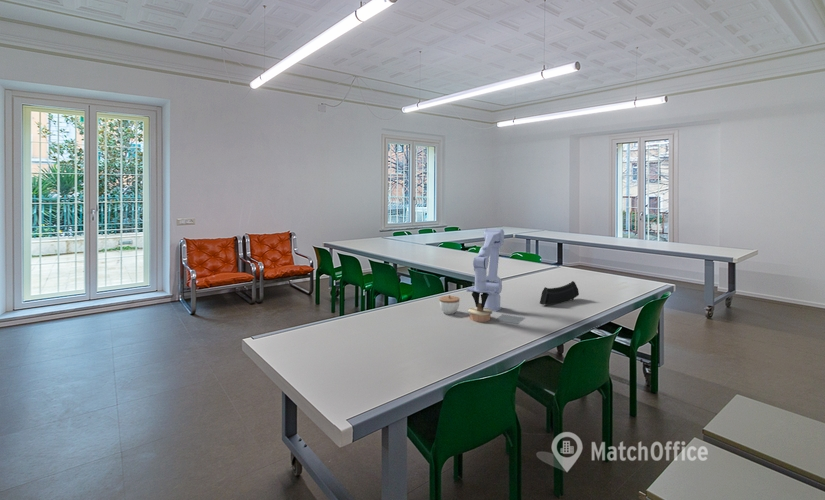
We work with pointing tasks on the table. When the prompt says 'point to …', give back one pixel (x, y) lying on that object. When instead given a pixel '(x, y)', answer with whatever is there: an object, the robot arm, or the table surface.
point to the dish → (480, 318)
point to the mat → (509, 319)
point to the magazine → (559, 294)
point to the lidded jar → (449, 304)
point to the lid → (480, 310)
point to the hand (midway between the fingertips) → (480, 307)
